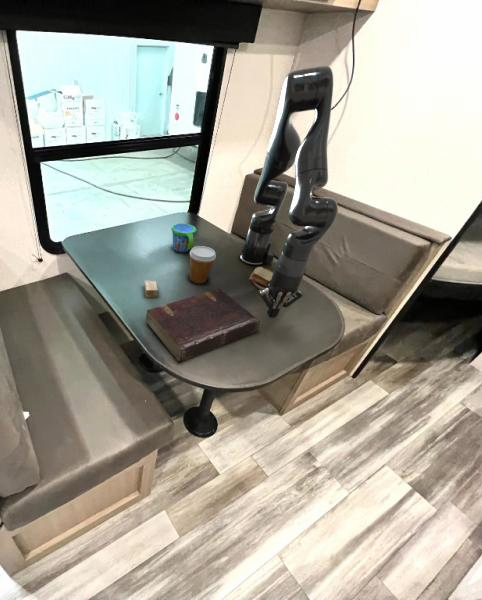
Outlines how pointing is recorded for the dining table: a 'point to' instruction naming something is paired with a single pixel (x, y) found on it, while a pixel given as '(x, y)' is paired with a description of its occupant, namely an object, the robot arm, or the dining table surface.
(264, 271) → the toy sandwich meal
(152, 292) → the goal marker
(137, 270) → the dining table surface
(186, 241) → the snack cup
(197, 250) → the disposable coffee cup
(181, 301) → the hardback book
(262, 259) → the robot arm
